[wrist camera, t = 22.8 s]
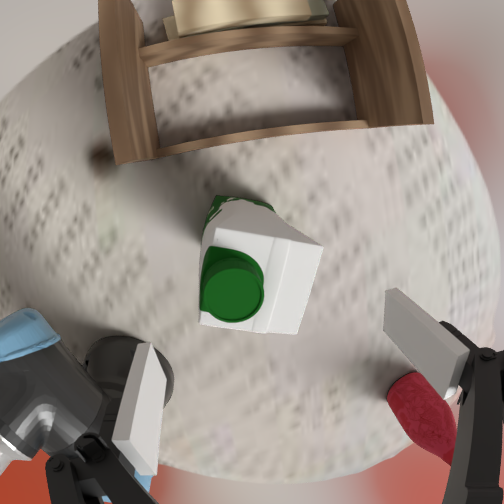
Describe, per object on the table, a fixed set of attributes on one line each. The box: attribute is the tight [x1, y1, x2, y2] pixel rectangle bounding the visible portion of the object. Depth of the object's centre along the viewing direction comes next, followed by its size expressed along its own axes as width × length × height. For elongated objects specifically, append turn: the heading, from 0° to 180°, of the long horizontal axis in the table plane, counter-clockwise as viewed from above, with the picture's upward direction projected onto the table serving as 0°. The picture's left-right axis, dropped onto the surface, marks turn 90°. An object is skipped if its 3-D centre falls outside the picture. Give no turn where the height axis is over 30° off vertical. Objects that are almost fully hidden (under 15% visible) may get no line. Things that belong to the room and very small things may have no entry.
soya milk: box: [199, 195, 323, 335], centre depth 29 cm, size 9×9×20 cm
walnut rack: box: [98, 0, 434, 165], centre depth 26 cm, size 28×19×14 cm, turn 99°
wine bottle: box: [387, 372, 457, 466], centre depth 40 cm, size 10×10×30 cm
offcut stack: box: [163, 0, 329, 41], centre depth 27 cm, size 20×6×6 cm, turn 105°
